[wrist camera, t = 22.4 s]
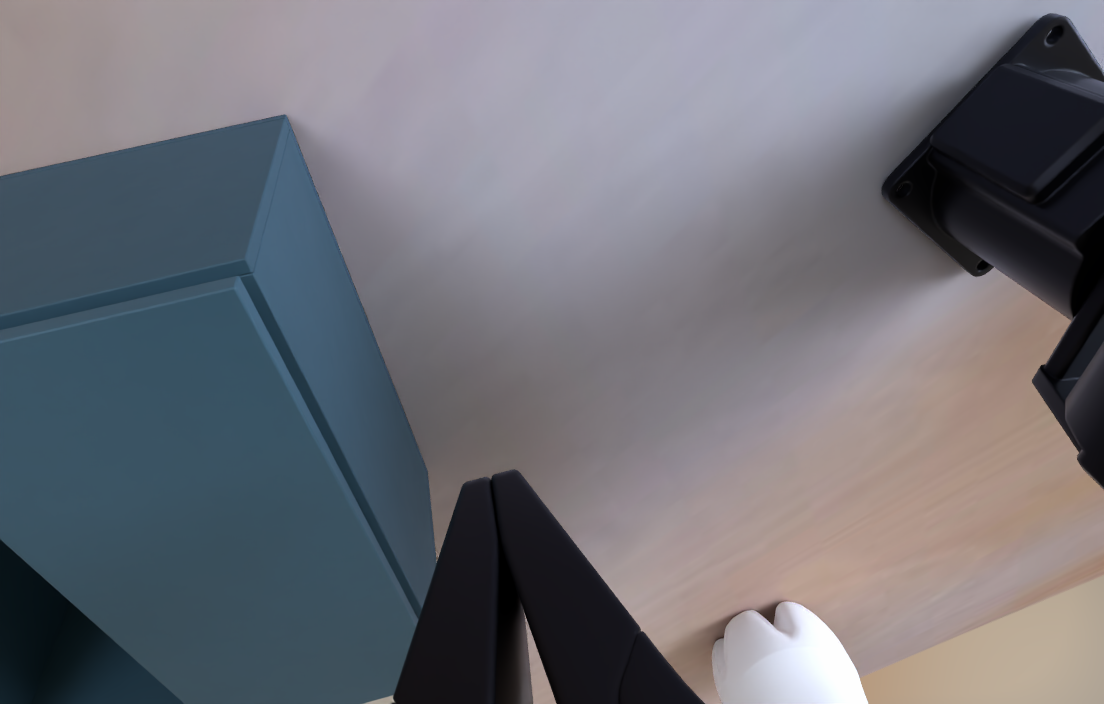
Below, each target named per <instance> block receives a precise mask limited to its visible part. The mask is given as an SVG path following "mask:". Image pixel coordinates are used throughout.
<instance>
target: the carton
mask: <svg viewBox="0 0 1104 704" xmlns="http://www.w3.org/2000/svg"><path fill="white" fill-rule="evenodd" d="M234 276H239V277H240V279H241V281H242V283H243V285H244V286H245V288H246V290H247V292H248V294H249V296H250V298H251V300H252V302H253V304H254V306H255V308H256V309H257V311H258V313H259V315H260V317H261V319H262V321H263V323H264V325H265V327H266V329H267V331H268V332H269V334H270V336H271V338H272V340H273V342H274V344H275V346H276V348H277V350H278V352H279V354H280V355H281V357H282V359H283V361H284V363H285V365H286V367H287V369H288V371H289V373H290V375H291V377H292V379H293V380H294V382H295V384H296V386H297V388H298V390H299V392H300V394H301V396H302V398H303V400H304V402H305V403H306V405H307V407H308V409H309V411H310V413H311V415H312V417H313V419H314V421H315V423H316V425H317V426H318V428H319V430H320V432H321V434H322V436H323V438H324V440H325V442H326V444H327V446H328V448H329V449H330V451H331V453H332V455H333V457H334V459H335V461H336V463H337V465H338V467H339V469H340V471H341V472H342V474H343V476H344V478H345V480H346V482H347V484H348V486H349V488H350V490H351V492H352V494H353V495H354V497H355V499H356V501H357V503H358V505H359V507H360V509H361V511H362V513H363V515H364V517H365V519H366V520H367V522H368V524H369V526H370V528H371V530H372V532H373V534H374V536H375V538H376V540H377V542H378V543H379V545H380V547H381V549H382V551H383V553H384V555H385V557H386V559H387V561H388V563H389V565H390V566H391V568H392V570H393V572H394V574H395V576H396V578H397V580H398V582H399V584H400V586H401V588H402V589H403V591H404V593H405V595H406V597H407V599H408V601H409V603H410V605H411V607H412V609H413V611H414V612H415V614H416V616H417V618H418V619H419V616H420V613H421V610H422V607H423V604H424V601H425V598H426V595H427V592H428V589H429V585H430V582H431V579H432V576H433V573H434V570H435V567H436V564H437V562H436V552H435V542H434V532H433V521H432V511H431V501H430V491H429V480H428V471H427V468H426V466H425V463H424V461H423V458H422V456H421V453H420V451H419V448H418V446H417V443H416V441H415V438H414V436H413V433H412V430H411V428H410V425H409V423H408V420H407V418H406V415H405V413H404V410H403V408H402V405H401V403H400V400H399V398H398V395H397V393H396V390H395V388H394V385H393V383H392V380H391V378H390V375H389V372H388V370H387V367H386V365H385V362H384V360H383V357H382V355H381V352H380V350H379V347H378V345H377V342H376V340H375V337H374V335H373V332H372V330H371V327H370V325H369V322H368V320H367V317H366V315H365V312H364V309H363V307H362V304H361V302H360V299H359V297H358V294H357V292H356V289H355V287H354V284H353V282H352V279H351V277H350V274H349V272H348V269H347V267H346V264H345V262H344V259H343V257H342V254H341V251H340V249H339V246H338V244H337V241H336V239H335V236H334V234H333V231H332V229H331V226H330V224H329V221H328V219H327V216H326V214H325V211H324V209H323V206H322V204H321V201H320V199H319V196H318V193H317V191H316V188H315V186H314V183H313V181H312V178H311V176H310V173H309V171H308V168H307V166H306V163H305V161H304V158H303V156H302V153H301V151H300V148H299V146H298V143H297V141H296V138H295V136H294V133H293V130H292V128H291V125H290V123H289V120H288V118H287V116H286V115H280V116H276V117H271V118H266V119H262V120H257V121H253V122H248V123H243V124H239V125H234V126H230V127H225V128H220V129H216V130H211V131H207V132H202V133H197V134H193V135H188V136H184V137H179V138H174V139H170V140H165V141H161V142H156V143H151V144H147V145H142V146H138V147H133V148H128V149H124V150H119V151H115V152H110V153H105V154H101V155H96V156H92V157H87V158H82V159H78V160H73V161H69V162H64V163H60V164H55V165H50V166H46V167H41V168H37V169H32V170H27V171H23V172H18V173H14V174H9V175H4V176H0V330H3V329H8V328H12V327H17V326H21V325H25V324H30V323H34V322H38V321H43V320H47V319H51V318H56V317H60V316H64V315H69V314H73V313H77V312H82V311H86V310H90V309H95V308H99V307H103V306H108V305H112V304H116V303H121V302H125V301H129V300H134V299H138V298H142V297H147V296H151V295H155V294H160V293H164V292H169V291H173V290H177V289H182V288H186V287H190V286H195V285H199V284H203V283H208V282H212V281H216V280H221V279H225V278H229V277H234ZM0 704H184V703H183V702H182V701H181V700H180V699H179V698H178V697H176V696H175V695H174V694H173V693H172V692H171V691H170V690H169V689H167V688H166V687H165V686H164V685H163V684H162V683H161V682H160V681H158V680H157V679H156V678H155V677H154V676H153V675H152V674H151V673H150V672H148V671H147V670H146V669H145V668H144V667H143V666H142V665H141V664H139V663H138V662H137V661H136V660H135V659H134V658H133V657H132V656H130V655H129V654H128V653H127V652H126V651H125V650H124V649H123V648H122V647H120V646H119V645H118V644H117V643H116V642H115V641H114V640H113V639H111V638H110V637H109V636H108V635H107V634H106V633H105V632H104V631H102V630H101V629H100V628H99V627H98V626H97V625H96V624H95V623H93V622H92V621H91V620H90V619H89V618H88V617H87V616H86V615H85V614H83V613H82V612H81V611H80V610H79V609H78V608H77V607H76V606H74V605H73V604H72V603H71V602H70V601H69V600H68V599H67V598H65V597H64V596H63V595H62V594H61V593H60V592H59V591H58V590H57V589H55V588H54V587H53V586H52V585H51V584H50V583H49V582H48V581H46V580H45V579H44V578H43V577H42V576H41V575H40V574H39V573H37V572H36V571H35V570H34V569H33V568H32V567H31V566H30V565H29V564H27V563H26V562H25V561H24V560H23V559H22V558H21V557H20V556H18V555H17V554H16V553H15V552H14V551H13V550H12V549H11V548H9V547H8V546H7V545H6V544H5V543H4V542H3V541H2V540H1V539H0Z"/></svg>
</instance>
